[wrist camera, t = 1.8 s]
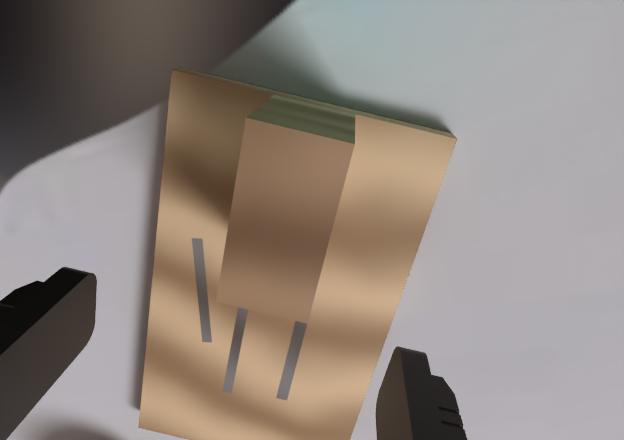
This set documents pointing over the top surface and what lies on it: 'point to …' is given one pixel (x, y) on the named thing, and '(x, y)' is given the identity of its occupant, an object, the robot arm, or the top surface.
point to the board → (263, 327)
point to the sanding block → (284, 206)
